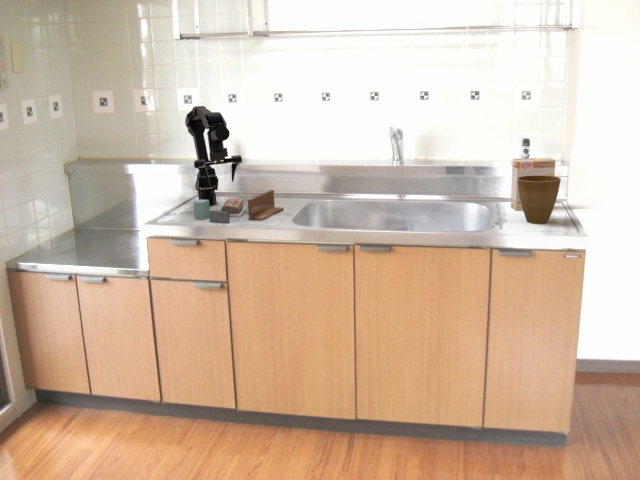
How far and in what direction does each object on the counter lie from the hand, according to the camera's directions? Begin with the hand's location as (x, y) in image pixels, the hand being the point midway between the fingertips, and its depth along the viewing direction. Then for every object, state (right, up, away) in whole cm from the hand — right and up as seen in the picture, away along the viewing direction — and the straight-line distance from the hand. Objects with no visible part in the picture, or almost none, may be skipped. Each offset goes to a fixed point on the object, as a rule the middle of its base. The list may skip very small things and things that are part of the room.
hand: (221, 183), depth 282 cm
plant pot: (+118, -16, -23) cm, 121 cm away
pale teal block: (-7, -14, -5) cm, 16 cm away
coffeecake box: (+123, -10, -1) cm, 123 cm away
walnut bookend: (+18, -12, -1) cm, 22 cm away
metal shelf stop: (+1, -16, -12) cm, 20 cm away
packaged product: (+4, -12, +6) cm, 14 cm away
